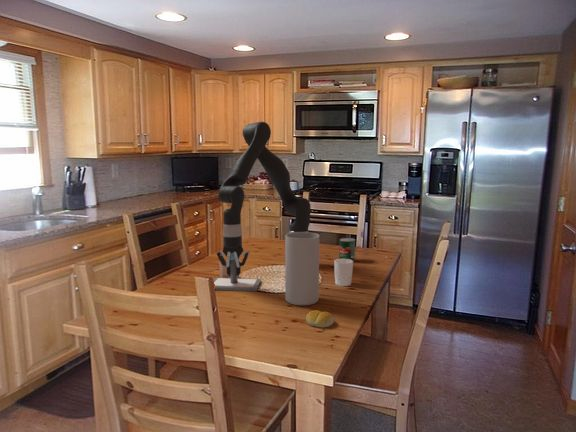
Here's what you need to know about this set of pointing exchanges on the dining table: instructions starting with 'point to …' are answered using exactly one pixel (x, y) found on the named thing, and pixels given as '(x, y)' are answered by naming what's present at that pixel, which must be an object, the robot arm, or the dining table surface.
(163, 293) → the dining table surface
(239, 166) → the robot arm
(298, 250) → the cylinder vase
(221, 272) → the pen cup
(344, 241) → the canned tomato
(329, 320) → the bread roll
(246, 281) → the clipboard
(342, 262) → the white cup
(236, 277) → the marker
